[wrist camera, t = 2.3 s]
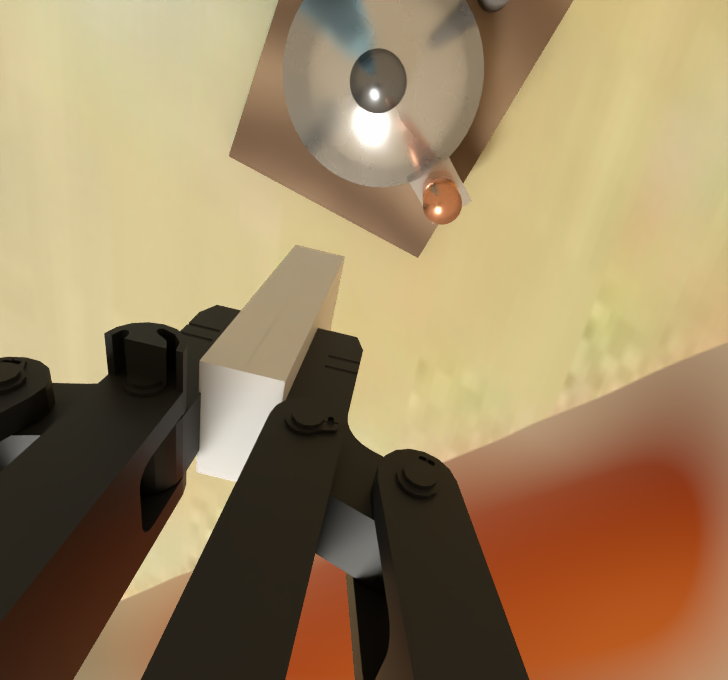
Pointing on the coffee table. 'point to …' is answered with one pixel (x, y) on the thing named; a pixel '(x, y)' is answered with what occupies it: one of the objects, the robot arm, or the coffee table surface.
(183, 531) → the coffee table surface
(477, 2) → the base board
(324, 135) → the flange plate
